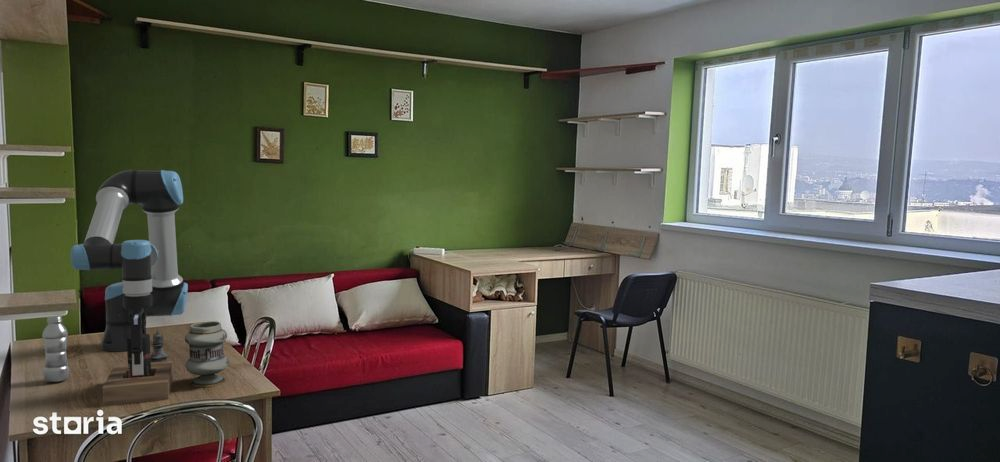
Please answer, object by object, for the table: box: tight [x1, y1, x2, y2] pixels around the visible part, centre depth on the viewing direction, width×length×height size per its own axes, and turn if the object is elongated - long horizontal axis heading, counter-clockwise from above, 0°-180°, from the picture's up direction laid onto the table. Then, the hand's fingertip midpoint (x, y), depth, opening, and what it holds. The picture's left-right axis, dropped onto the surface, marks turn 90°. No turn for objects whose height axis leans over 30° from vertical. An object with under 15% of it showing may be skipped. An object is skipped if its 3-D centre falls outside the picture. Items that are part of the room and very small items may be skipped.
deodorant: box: [126, 333, 152, 378], centre depth 199 cm, size 6×6×15 cm
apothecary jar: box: [184, 320, 230, 388], centre depth 208 cm, size 12×12×18 cm
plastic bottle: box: [41, 315, 71, 383], centre depth 205 cm, size 6×7×20 cm
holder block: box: [102, 360, 174, 406], centre depth 200 cm, size 22×16×5 cm
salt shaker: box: [150, 330, 169, 363], centre depth 222 cm, size 6×6×12 cm
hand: (139, 370), depth 199 cm, fingers open, 9 cm apart
